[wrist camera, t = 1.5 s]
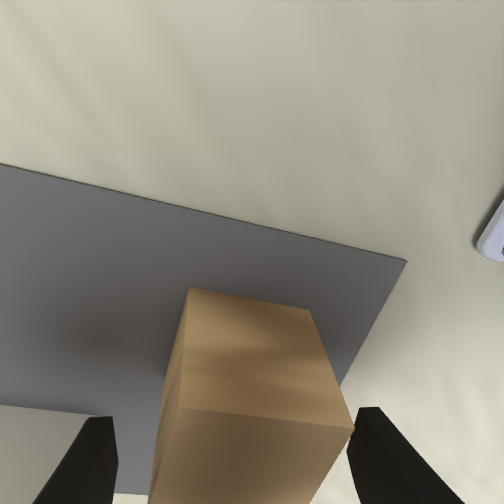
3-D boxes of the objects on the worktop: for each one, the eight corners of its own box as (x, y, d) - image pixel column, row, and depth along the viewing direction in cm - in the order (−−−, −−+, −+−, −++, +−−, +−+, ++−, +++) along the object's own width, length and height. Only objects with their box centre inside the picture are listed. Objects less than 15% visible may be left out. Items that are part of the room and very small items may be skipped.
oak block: (309, 309, 14) (355, 428, 10) (271, 394, 16) (295, 525, 11) (188, 286, 13) (178, 406, 9) (164, 380, 15) (145, 517, 10)
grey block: (104, 416, 15) (68, 541, 12) (92, 481, 17) (58, 608, 13) (-17, 403, 14) (-102, 534, 11) (-15, 474, 16) (-87, 607, 12)
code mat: (406, 260, 13) (407, 261, 13) (275, 501, 20) (275, 504, 20) (-72, 146, 10) (-75, 147, 10) (-46, 479, 17) (-47, 482, 16)
